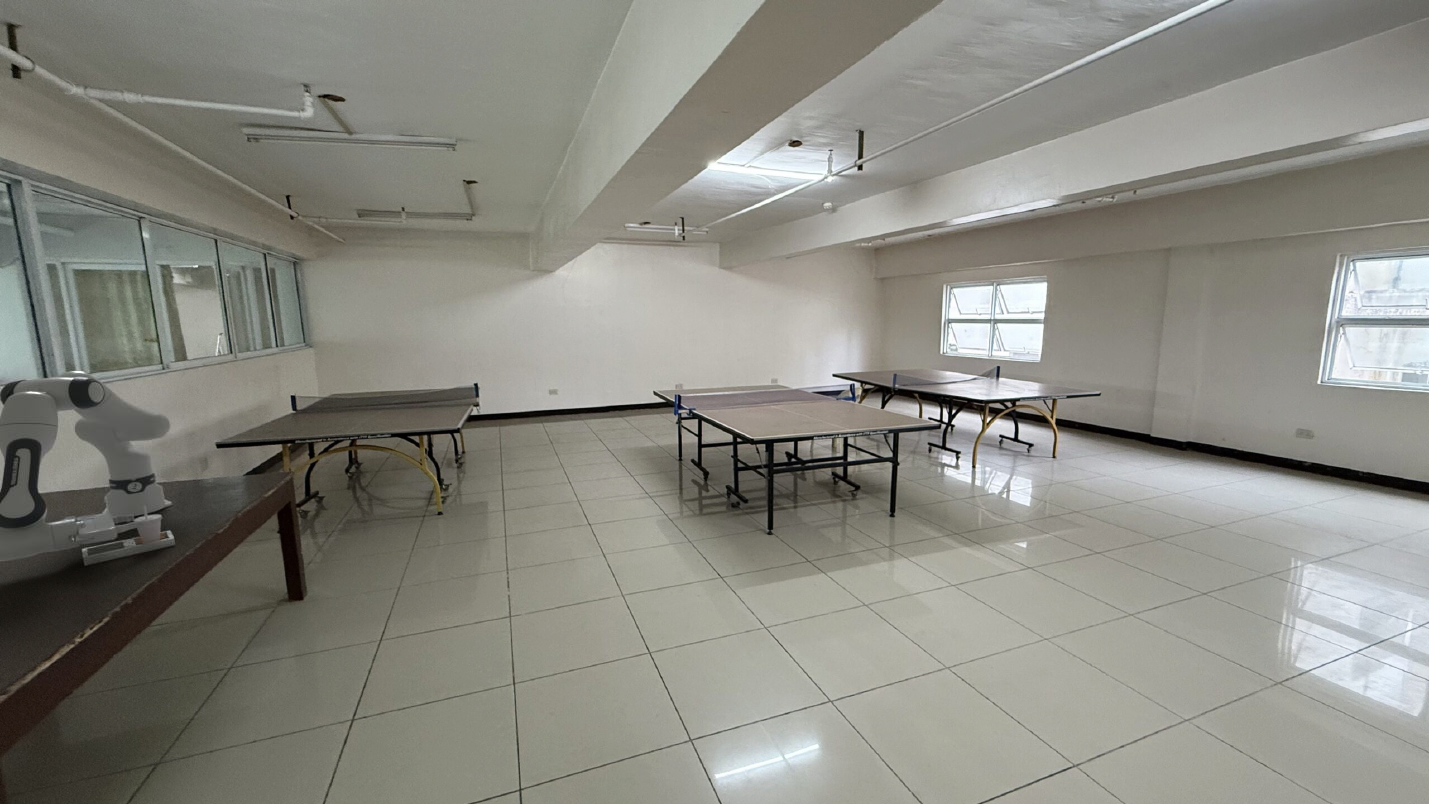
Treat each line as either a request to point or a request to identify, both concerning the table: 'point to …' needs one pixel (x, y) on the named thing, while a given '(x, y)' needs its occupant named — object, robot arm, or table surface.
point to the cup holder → (125, 548)
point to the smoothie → (149, 527)
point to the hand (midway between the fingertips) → (135, 520)
